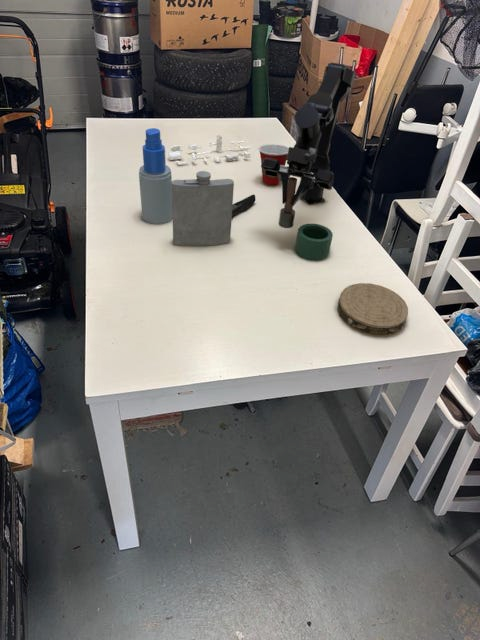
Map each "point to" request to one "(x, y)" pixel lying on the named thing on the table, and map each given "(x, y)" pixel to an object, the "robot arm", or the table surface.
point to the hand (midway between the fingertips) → (287, 204)
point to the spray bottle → (155, 181)
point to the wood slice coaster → (372, 309)
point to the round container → (313, 241)
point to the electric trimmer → (243, 204)
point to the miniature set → (177, 155)
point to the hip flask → (202, 210)
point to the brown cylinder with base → (288, 205)
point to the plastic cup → (274, 153)
